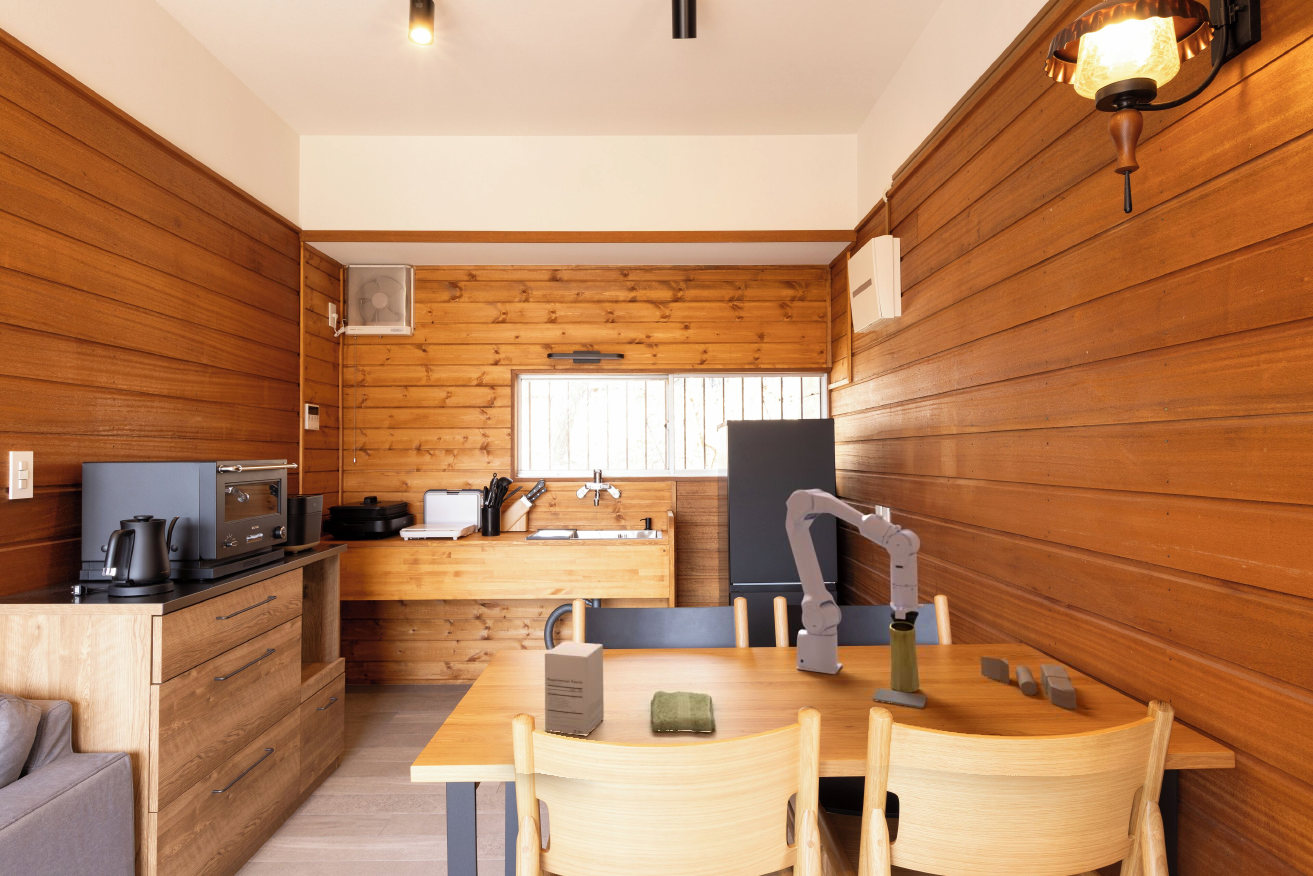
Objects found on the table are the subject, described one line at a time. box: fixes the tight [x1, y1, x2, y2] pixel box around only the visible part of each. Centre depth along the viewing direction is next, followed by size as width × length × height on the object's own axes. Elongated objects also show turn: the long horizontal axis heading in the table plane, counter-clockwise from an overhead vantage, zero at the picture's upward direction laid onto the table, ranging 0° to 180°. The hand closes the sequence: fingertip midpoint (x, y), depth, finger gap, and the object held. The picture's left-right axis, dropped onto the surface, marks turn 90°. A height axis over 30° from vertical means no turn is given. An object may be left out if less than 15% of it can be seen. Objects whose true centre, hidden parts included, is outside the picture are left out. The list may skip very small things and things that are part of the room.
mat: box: [872, 688, 928, 710], centre depth 141 cm, size 10×7×1 cm
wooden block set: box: [980, 656, 1077, 711], centre depth 146 cm, size 17×6×18 cm
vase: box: [889, 621, 920, 693], centre depth 146 cm, size 6×6×14 cm
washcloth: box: [650, 690, 717, 732], centre depth 133 cm, size 13×18×3 cm
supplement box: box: [544, 641, 605, 735], centre depth 128 cm, size 9×9×15 cm
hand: (905, 644), depth 149 cm, fingers closed
